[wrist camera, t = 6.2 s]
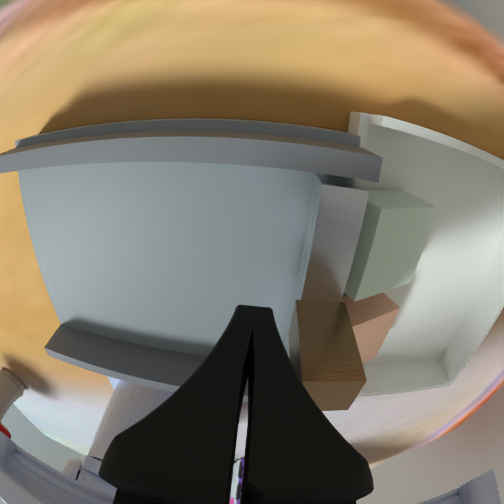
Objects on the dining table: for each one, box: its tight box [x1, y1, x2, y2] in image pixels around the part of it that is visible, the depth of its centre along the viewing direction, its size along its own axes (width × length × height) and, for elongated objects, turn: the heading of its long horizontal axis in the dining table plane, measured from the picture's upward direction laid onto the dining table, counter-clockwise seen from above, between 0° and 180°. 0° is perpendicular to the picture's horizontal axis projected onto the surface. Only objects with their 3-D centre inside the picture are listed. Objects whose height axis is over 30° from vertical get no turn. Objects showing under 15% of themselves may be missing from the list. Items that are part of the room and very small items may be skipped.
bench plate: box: [0, 118, 383, 403], centre depth 13 cm, size 14×17×4 cm
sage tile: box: [344, 190, 436, 302], centre depth 11 cm, size 4×4×2 cm
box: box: [342, 111, 504, 396], centre depth 13 cm, size 16×12×3 cm
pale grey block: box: [284, 173, 369, 411], centre depth 10 cm, size 11×2×5 cm, turn 176°
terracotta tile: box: [340, 293, 400, 364], centre depth 14 cm, size 4×4×2 cm
